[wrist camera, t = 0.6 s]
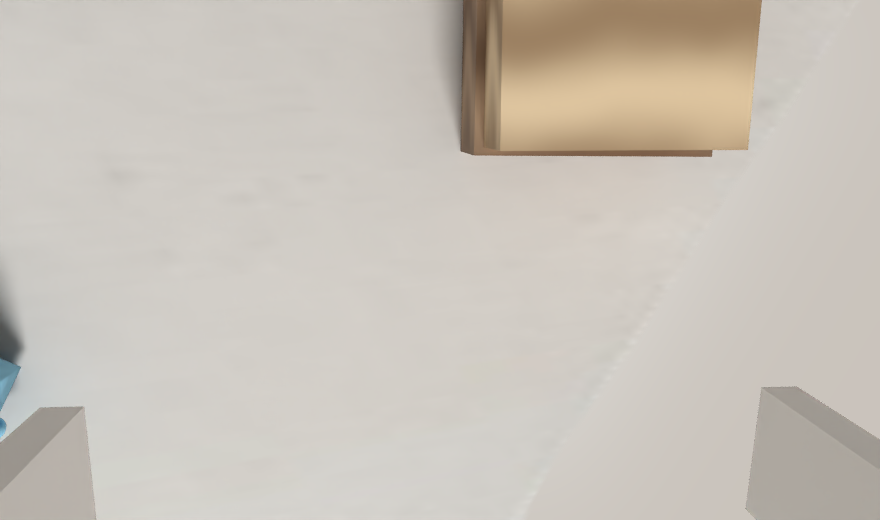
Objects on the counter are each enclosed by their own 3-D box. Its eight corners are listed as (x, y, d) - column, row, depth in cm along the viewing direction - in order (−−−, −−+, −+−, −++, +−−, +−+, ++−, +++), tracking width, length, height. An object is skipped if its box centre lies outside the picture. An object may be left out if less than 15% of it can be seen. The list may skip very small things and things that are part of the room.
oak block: (487, -103, 29) (505, -138, 25) (721, -95, 31) (773, -127, 27) (484, 147, 32) (500, 150, 28) (702, 146, 33) (747, 149, 29)
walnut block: (463, -85, 34) (479, -119, 29) (685, -75, 35) (736, -106, 30) (460, 150, 37) (474, 155, 32) (667, 152, 38) (711, 156, 33)
